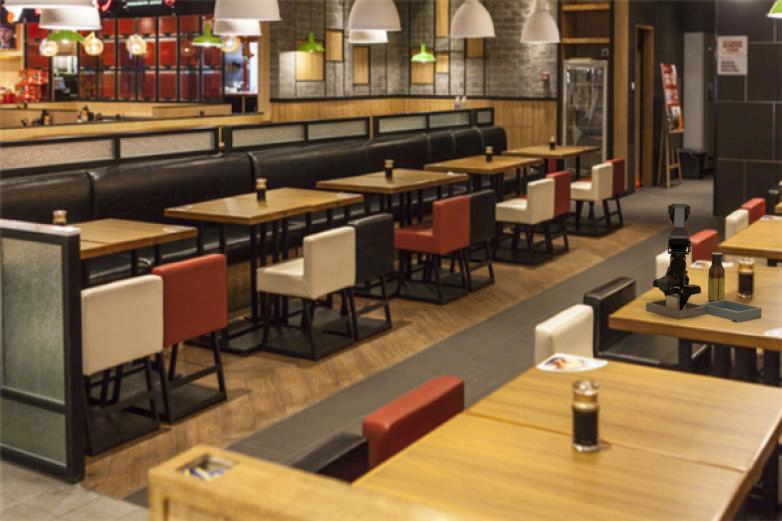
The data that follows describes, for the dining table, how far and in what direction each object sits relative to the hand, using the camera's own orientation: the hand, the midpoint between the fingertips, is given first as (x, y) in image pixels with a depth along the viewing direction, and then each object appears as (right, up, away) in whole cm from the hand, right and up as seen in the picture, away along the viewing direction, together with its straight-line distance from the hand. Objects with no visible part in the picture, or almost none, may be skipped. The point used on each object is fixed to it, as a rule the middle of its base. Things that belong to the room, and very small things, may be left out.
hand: (675, 308), depth 377 cm
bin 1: (0, -2, 0) cm, 2 cm away
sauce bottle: (+21, +1, +18) cm, 27 cm away
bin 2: (+20, -2, -3) cm, 20 cm away
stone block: (0, -1, 0) cm, 1 cm away
